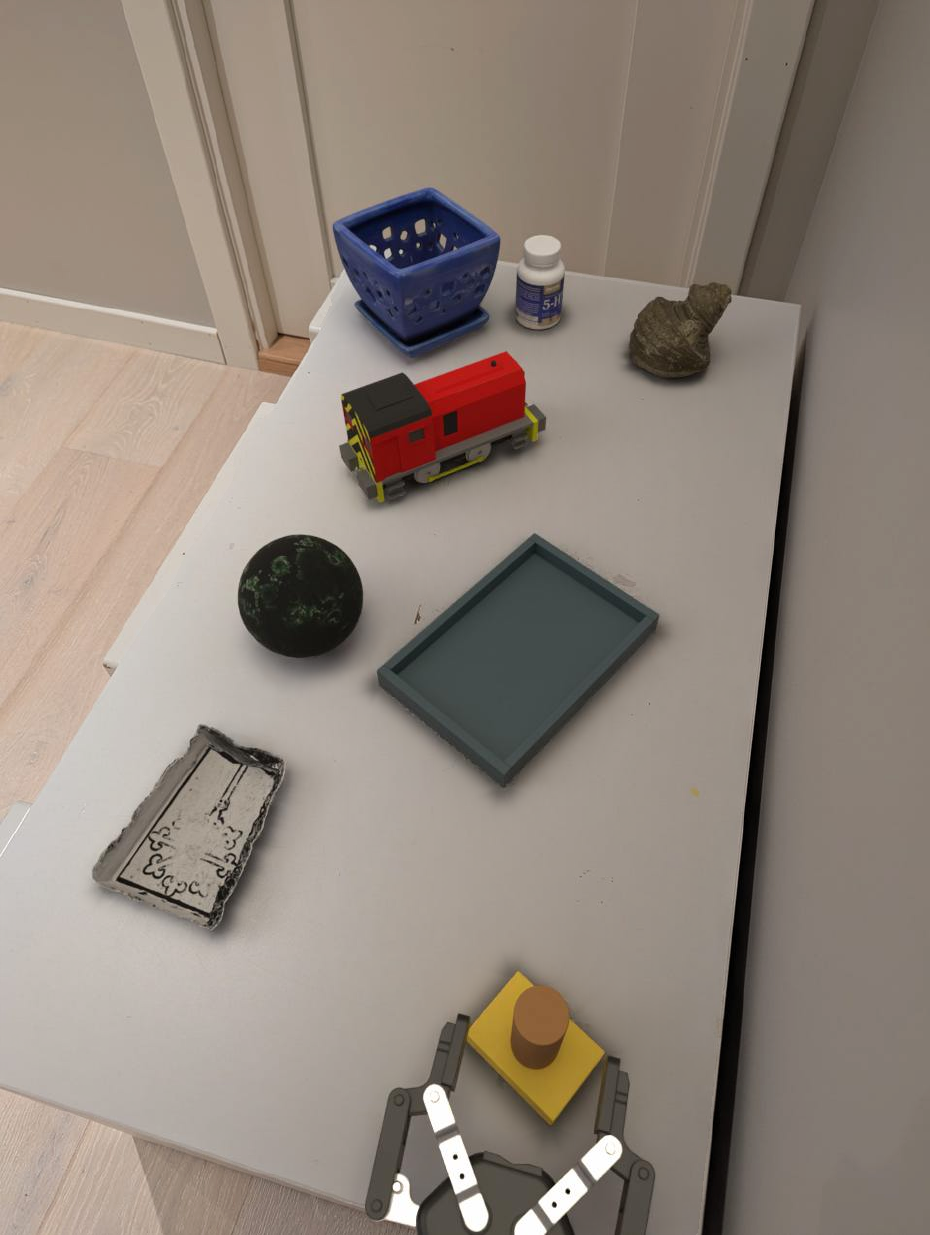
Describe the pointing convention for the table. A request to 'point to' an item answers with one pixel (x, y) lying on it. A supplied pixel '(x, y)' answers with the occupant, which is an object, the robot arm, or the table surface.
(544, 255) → the pill bottle
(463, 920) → the table surface
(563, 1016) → the stamp with peg handle
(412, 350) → the flower pot
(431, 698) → the tray
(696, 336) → the seashell
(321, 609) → the decorative stone
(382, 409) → the toy train
